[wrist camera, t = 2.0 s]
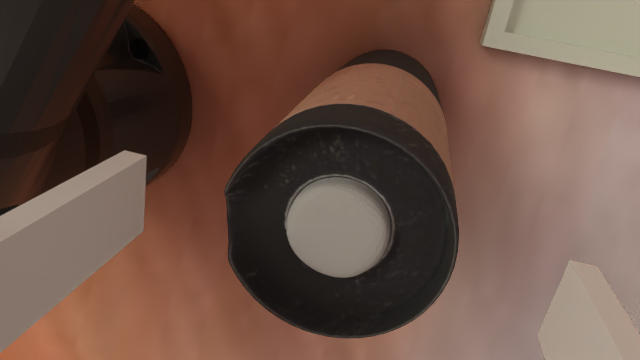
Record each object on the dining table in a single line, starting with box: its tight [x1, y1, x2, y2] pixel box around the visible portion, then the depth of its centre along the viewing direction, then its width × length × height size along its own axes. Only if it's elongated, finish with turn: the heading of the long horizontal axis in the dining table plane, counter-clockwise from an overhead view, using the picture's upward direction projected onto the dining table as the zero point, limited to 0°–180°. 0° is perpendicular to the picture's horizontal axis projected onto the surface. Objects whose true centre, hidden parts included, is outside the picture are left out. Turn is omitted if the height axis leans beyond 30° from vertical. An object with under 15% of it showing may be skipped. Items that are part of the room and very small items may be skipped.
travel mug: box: [224, 50, 459, 338], centre depth 24 cm, size 8×8×20 cm
